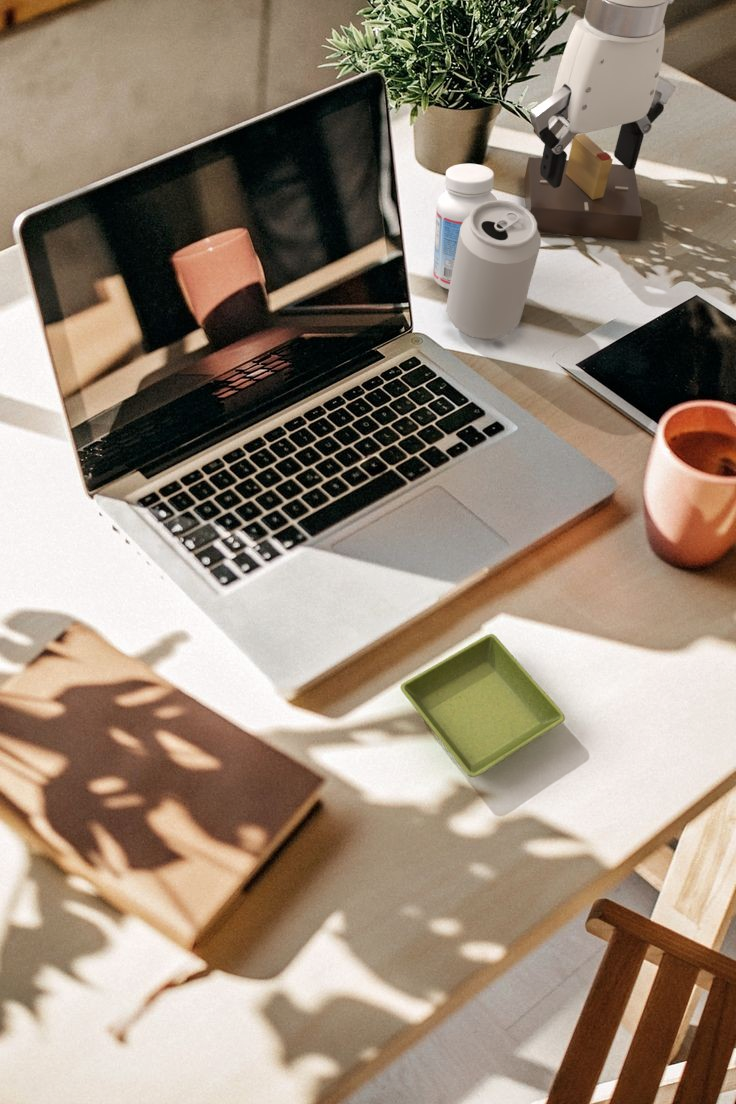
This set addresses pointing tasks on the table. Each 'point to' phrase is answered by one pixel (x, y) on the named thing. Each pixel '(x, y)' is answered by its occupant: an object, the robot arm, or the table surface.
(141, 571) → the table surface
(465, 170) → the pill bottle
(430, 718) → the green square dish
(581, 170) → the tap handle
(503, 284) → the can
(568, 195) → the base
